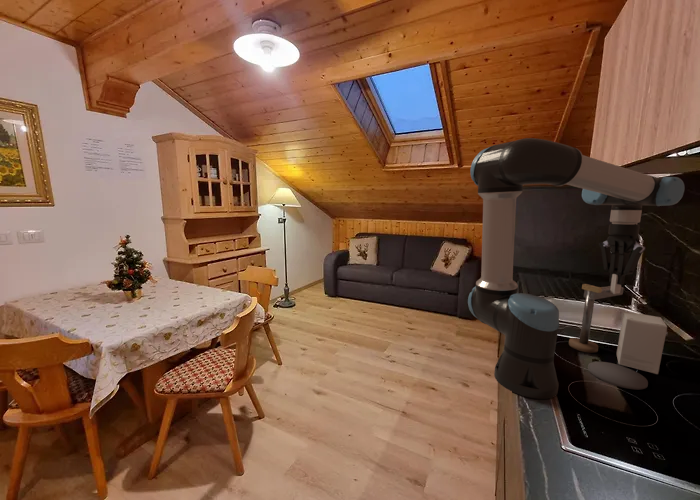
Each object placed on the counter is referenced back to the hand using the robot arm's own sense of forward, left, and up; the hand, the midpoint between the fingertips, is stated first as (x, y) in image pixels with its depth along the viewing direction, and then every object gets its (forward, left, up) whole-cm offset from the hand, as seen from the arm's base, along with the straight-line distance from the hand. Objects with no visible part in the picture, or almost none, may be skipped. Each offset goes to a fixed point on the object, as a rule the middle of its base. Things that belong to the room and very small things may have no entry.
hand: (614, 293), depth 104 cm
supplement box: (-5, -11, -19) cm, 23 cm away
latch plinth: (-9, +2, -19) cm, 21 cm away
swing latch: (-2, +2, -17) cm, 18 cm away
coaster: (-19, -13, -19) cm, 30 cm away
